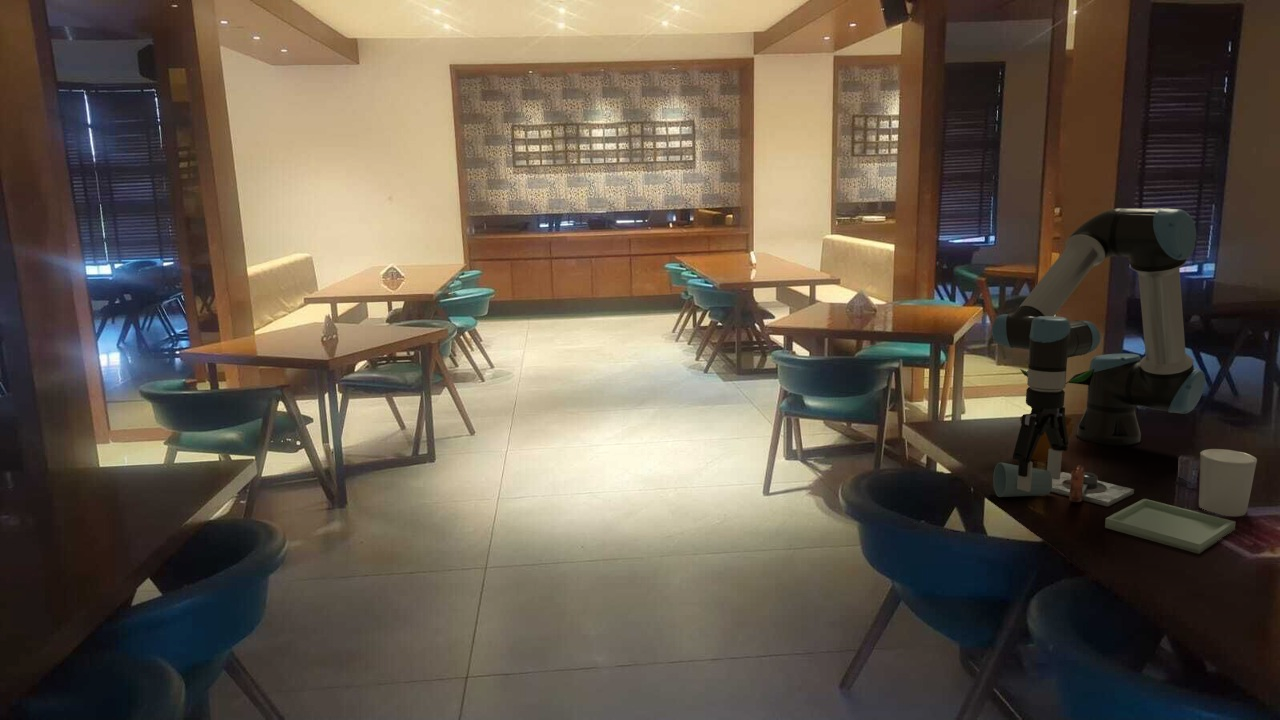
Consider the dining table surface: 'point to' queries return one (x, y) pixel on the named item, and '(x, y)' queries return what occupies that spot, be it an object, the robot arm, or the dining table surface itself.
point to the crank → (1081, 483)
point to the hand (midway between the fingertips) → (1038, 483)
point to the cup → (1008, 477)
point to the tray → (1170, 525)
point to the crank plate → (1093, 491)
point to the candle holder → (1225, 481)
